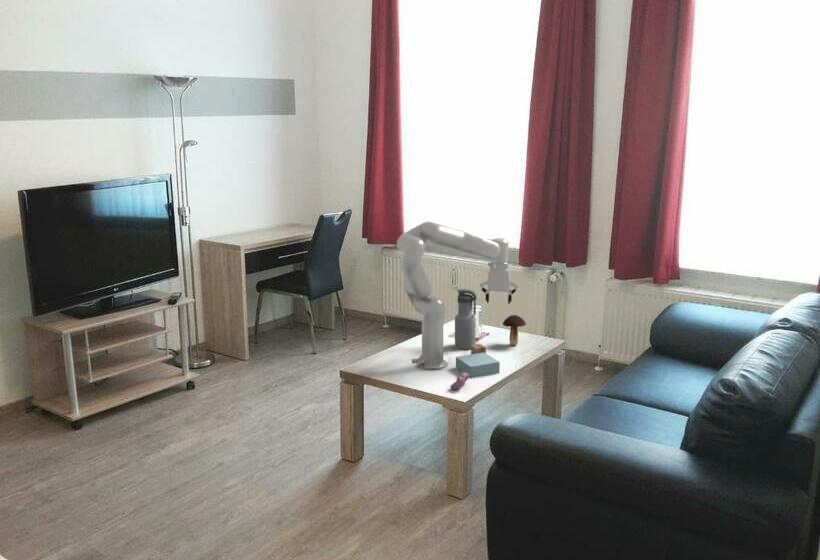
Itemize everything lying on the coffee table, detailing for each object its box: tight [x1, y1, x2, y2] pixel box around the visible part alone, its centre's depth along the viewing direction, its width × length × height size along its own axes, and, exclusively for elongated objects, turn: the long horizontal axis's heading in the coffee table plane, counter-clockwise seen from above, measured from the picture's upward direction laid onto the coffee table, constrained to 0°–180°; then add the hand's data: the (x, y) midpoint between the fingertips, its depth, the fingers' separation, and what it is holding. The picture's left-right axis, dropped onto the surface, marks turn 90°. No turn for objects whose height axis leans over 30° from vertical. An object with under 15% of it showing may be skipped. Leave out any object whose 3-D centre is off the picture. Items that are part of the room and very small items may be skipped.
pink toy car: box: [450, 372, 470, 391], centre depth 304 cm, size 10×5×7 cm, turn 159°
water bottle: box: [454, 288, 478, 350], centre depth 351 cm, size 10×10×28 cm
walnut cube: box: [470, 343, 487, 355], centre depth 340 cm, size 5×5×5 cm
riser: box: [455, 352, 501, 379], centre depth 322 cm, size 14×14×5 cm
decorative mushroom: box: [502, 314, 527, 346], centre depth 353 cm, size 11×11×15 cm
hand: (498, 302), depth 337 cm, fingers open, 9 cm apart
